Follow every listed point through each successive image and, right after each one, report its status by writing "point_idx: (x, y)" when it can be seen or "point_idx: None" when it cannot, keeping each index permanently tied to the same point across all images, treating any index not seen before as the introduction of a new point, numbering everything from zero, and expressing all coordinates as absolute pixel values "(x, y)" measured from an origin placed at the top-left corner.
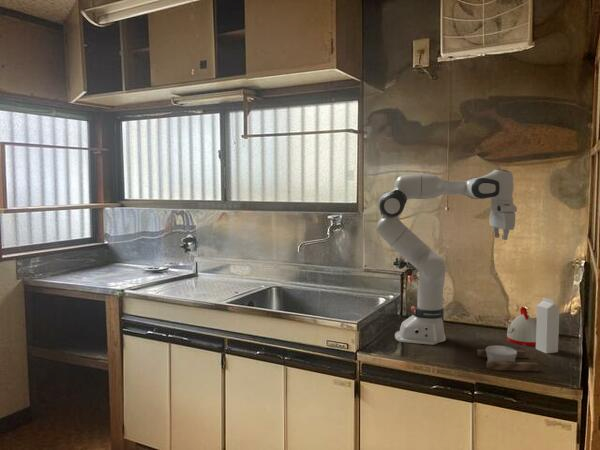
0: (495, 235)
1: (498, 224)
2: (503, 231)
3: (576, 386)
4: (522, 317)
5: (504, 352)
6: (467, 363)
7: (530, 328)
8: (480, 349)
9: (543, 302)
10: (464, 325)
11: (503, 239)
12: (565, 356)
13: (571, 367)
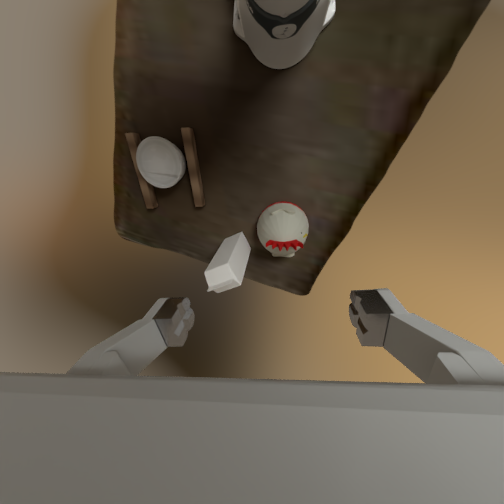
0: (361, 301)
1: (149, 450)
2: (102, 354)
3: (119, 233)
4: (275, 236)
5: (147, 166)
6: (147, 101)
7: (261, 239)
8: (188, 133)
9: (226, 276)
10: (386, 134)
11: (161, 298)
12: None
13: (179, 250)
